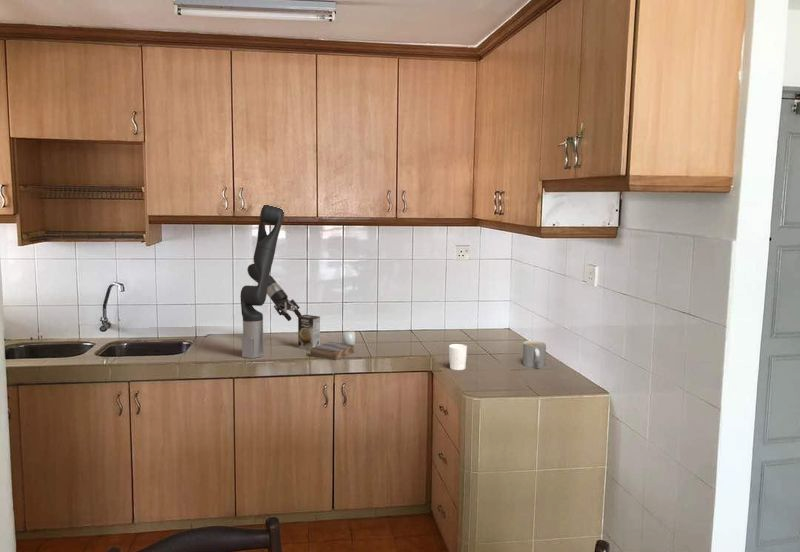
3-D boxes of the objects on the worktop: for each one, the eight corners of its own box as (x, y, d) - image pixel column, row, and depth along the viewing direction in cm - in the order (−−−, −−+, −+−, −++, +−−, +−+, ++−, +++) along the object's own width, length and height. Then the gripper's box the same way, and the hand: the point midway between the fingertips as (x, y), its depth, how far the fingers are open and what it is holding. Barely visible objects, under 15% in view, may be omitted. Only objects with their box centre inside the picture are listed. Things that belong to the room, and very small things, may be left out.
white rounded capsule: (351, 350, 317) (351, 334, 316) (340, 348, 319) (340, 332, 318) (357, 347, 322) (357, 331, 321) (347, 346, 325) (347, 330, 324)
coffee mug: (523, 361, 298) (523, 340, 297) (545, 362, 296) (545, 341, 294) (522, 369, 285) (522, 347, 284) (545, 370, 283) (546, 348, 282)
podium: (335, 360, 297) (335, 351, 297) (310, 356, 304) (310, 348, 303) (353, 352, 311) (353, 344, 311) (329, 349, 318) (329, 341, 317)
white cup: (445, 366, 288) (445, 344, 286) (461, 365, 291) (461, 343, 289) (454, 371, 280) (454, 348, 279) (469, 369, 284) (470, 347, 282)
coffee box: (297, 348, 319) (297, 316, 317) (305, 345, 325) (305, 314, 322) (312, 350, 315) (312, 318, 313) (320, 347, 320) (320, 315, 318)
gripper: (271, 291, 317) (291, 316, 314) (289, 287, 330) (308, 311, 326) (263, 300, 320) (282, 325, 317) (281, 296, 333) (299, 320, 329)
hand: (295, 318), depth 322 cm, fingers open, 8 cm apart
